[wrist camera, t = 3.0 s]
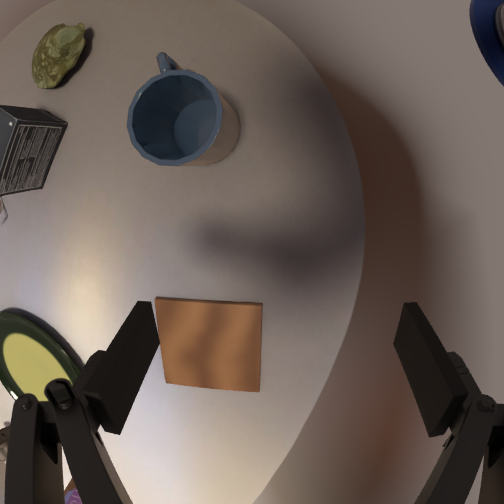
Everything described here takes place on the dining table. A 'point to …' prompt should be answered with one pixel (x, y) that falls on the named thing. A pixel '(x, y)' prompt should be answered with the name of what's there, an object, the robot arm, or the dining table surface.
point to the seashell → (57, 54)
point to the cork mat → (210, 343)
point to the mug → (181, 118)
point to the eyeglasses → (1, 205)
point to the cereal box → (72, 494)
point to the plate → (30, 357)
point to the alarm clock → (4, 443)
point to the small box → (26, 147)
